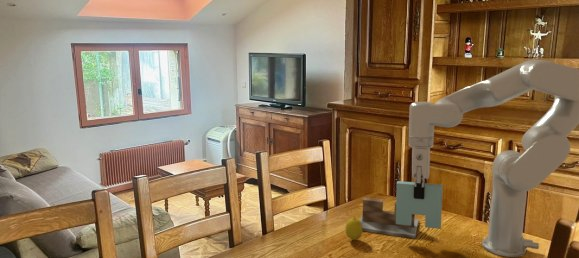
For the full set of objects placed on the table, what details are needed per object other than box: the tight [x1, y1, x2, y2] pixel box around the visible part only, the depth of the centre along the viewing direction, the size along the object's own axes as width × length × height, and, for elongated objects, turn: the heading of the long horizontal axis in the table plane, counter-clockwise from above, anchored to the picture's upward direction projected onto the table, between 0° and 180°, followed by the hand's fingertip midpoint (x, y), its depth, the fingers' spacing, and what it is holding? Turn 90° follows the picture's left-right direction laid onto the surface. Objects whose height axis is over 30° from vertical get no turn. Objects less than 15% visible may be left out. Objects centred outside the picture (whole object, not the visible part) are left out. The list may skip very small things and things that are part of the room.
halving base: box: [358, 197, 419, 239], centre depth 154 cm, size 20×15×9 cm
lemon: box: [345, 217, 363, 241], centre depth 142 cm, size 6×6×8 cm
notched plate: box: [395, 180, 444, 230], centre depth 140 cm, size 14×2×14 cm, turn 70°
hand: (419, 196), depth 139 cm, fingers closed on notched plate, 2 cm apart
